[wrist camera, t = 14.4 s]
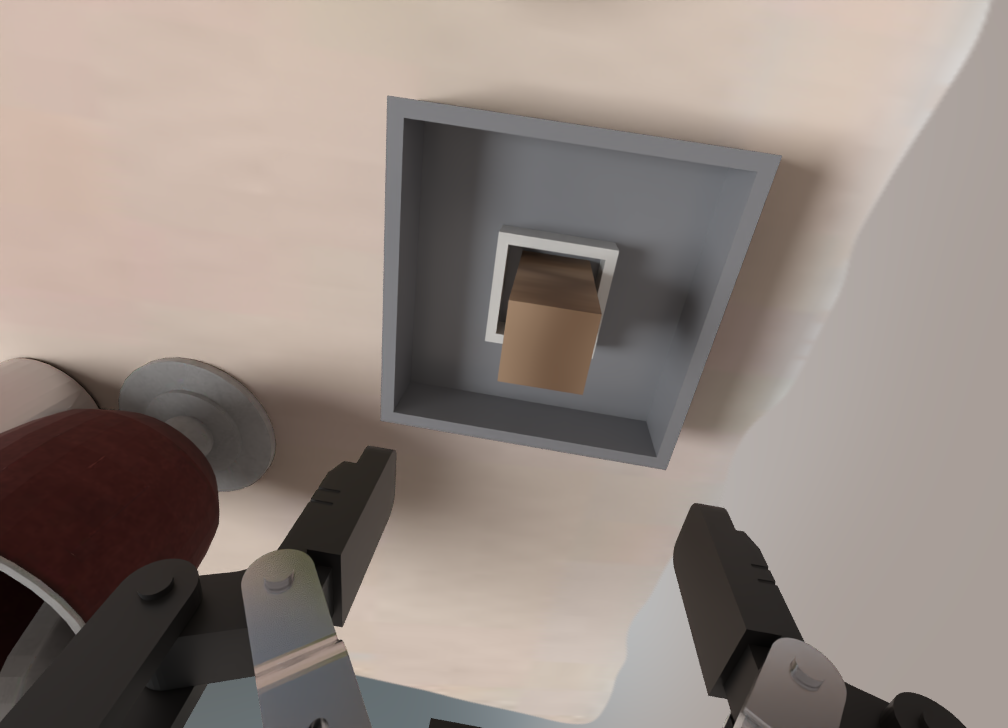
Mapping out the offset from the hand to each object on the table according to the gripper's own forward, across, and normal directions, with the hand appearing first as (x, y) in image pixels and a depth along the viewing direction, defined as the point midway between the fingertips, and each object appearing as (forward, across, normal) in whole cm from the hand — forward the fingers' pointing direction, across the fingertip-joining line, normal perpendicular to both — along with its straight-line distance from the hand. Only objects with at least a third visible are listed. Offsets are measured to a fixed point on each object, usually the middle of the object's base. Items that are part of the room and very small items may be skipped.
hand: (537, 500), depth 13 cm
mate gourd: (+20, +25, +17) cm, 36 cm away
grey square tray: (+20, 0, 0) cm, 20 cm away
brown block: (+18, 0, 0) cm, 19 cm away
